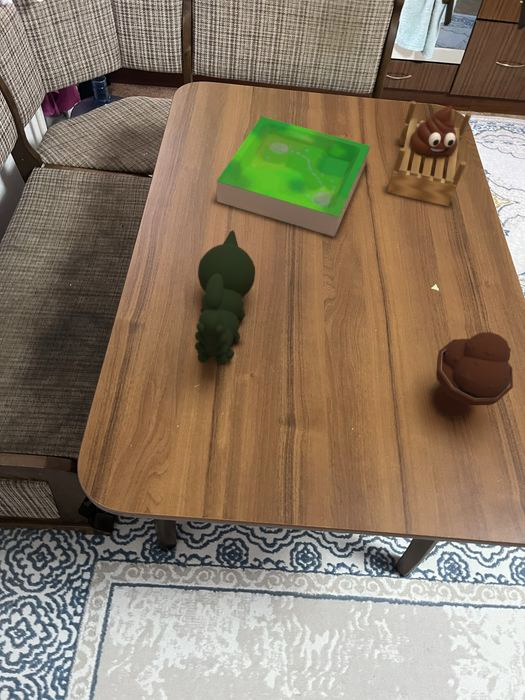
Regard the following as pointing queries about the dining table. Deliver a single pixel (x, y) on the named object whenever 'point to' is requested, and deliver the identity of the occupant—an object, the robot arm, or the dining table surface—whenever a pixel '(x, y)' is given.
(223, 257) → the toy figurine
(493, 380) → the ice cream bowl
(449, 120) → the poop emoji
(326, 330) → the dining table surface
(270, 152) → the green terrain map board
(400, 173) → the brown wooden slatted frame
